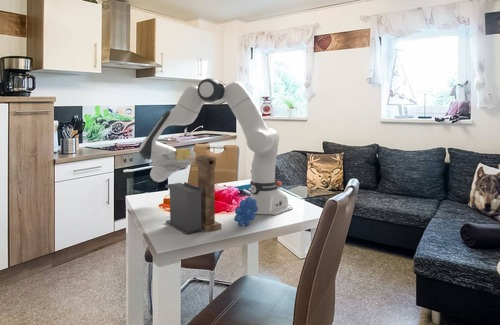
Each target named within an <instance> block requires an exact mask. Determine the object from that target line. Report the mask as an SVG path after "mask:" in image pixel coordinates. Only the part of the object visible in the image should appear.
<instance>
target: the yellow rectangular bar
mask: <svg viewBox="0 0 500 325" xmlns="http://www.w3.org/2000/svg"><path fill="white" fill-rule="evenodd" d="M176 152H177V155H176V159H178V160H190V161H194V162H195V157H191V154H190V152H191V149H190V148H176Z"/></svg>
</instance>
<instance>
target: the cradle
mask: <svg viewBox="0 0 500 325" xmlns="http://www.w3.org/2000/svg"><path fill="white" fill-rule="evenodd" d="M164 186H165V188H166V189H169V213H170V214H169V215H170V216H169V217H170V219H168V220H165V223H166V225H169V226H171V227H172V228H174V229H176V230H178V231H179V232H181V233H183V234H185V235H190V234H196V233H199V232H204V231H203V229H202V228H201V193H202V188H201V187H198V185H196V184H193V183H189V182H183V183H182V182H176V183H169V184H165V185H164Z"/></svg>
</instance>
